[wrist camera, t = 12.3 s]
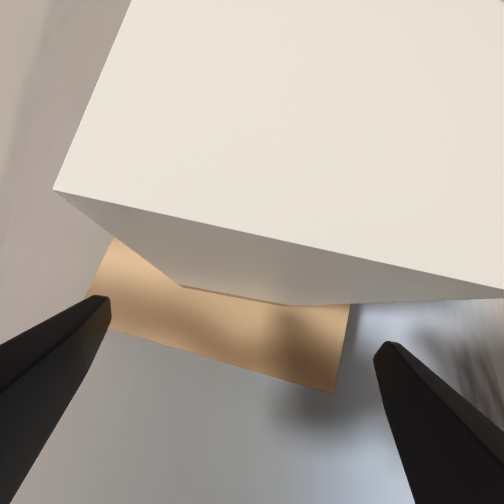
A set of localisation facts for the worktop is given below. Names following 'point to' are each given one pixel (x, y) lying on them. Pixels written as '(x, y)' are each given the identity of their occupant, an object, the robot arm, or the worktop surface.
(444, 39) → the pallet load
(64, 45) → the worktop surface
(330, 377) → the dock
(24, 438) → the robot arm
